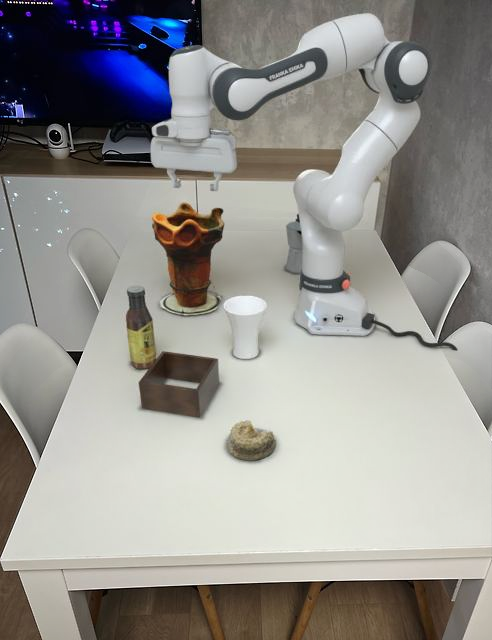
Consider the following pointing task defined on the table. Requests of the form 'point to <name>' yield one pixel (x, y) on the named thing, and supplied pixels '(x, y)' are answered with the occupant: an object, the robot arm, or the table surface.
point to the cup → (245, 324)
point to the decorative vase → (189, 257)
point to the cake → (250, 442)
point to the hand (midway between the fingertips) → (195, 188)
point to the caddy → (175, 396)
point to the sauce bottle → (140, 329)
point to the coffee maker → (294, 247)
